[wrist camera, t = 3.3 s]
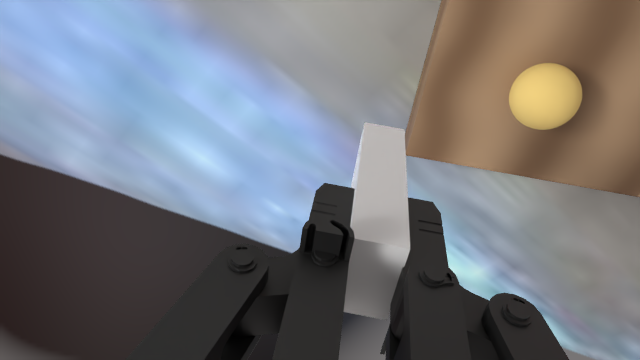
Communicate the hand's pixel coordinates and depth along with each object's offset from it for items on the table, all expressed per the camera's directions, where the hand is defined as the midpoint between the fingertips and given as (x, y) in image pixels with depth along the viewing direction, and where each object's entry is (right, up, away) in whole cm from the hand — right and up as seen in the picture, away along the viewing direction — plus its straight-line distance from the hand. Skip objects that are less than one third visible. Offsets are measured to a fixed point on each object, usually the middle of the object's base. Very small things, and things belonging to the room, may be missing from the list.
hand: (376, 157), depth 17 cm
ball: (+10, +4, +7) cm, 12 cm away
